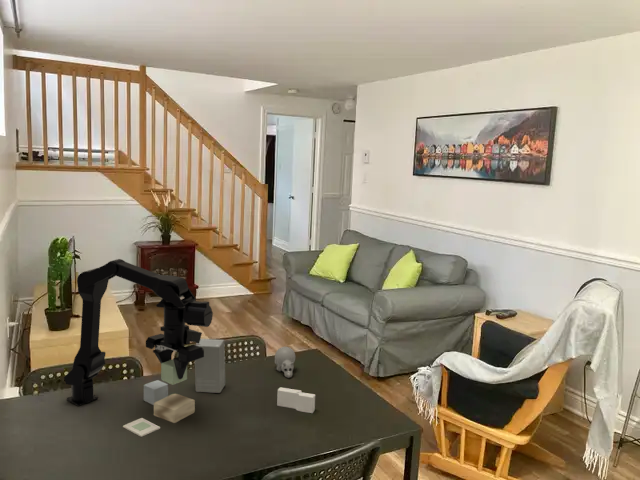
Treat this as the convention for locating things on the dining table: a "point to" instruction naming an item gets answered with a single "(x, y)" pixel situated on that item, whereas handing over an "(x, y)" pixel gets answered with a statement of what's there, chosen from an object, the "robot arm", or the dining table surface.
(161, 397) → the blue-grey cube
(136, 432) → the card
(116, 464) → the dining table surface
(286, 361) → the round bodied animal figurine
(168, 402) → the birch block
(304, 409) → the white stepped block
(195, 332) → the robot arm
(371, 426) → the dining table surface
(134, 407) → the dining table surface
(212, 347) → the skincare box
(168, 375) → the sage cube
